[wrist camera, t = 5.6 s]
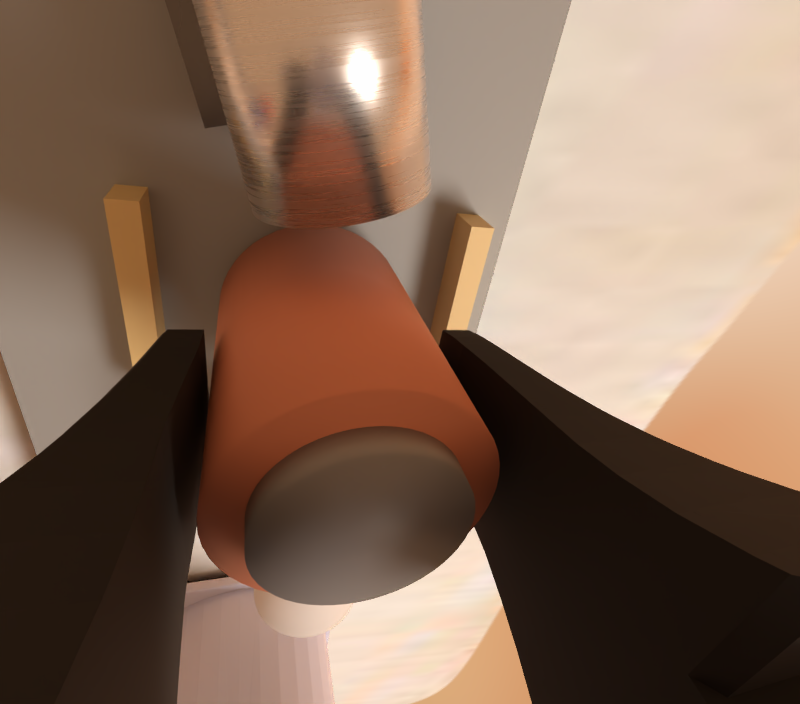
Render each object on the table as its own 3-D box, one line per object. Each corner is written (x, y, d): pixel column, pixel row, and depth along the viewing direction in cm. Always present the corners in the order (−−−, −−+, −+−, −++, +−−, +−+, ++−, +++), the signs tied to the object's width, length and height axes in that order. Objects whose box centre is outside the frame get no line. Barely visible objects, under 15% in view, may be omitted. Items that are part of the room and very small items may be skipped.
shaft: (407, 139, 11) (489, 199, 7) (226, 169, 10) (216, 251, 6) (385, -146, 8) (499, -283, 4) (135, -130, 7) (31, -274, 4)
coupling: (391, 376, 13) (482, 595, 8) (229, 389, 12) (214, 653, 7) (408, 225, 11) (549, 400, 6) (208, 223, 10) (163, 438, 5)
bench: (423, 469, 19) (477, 604, 14) (71, 502, 15) (1, 697, 11) (560, -47, 10) (793, -98, 6) (-169, -258, 7) (-984, -807, 2)
